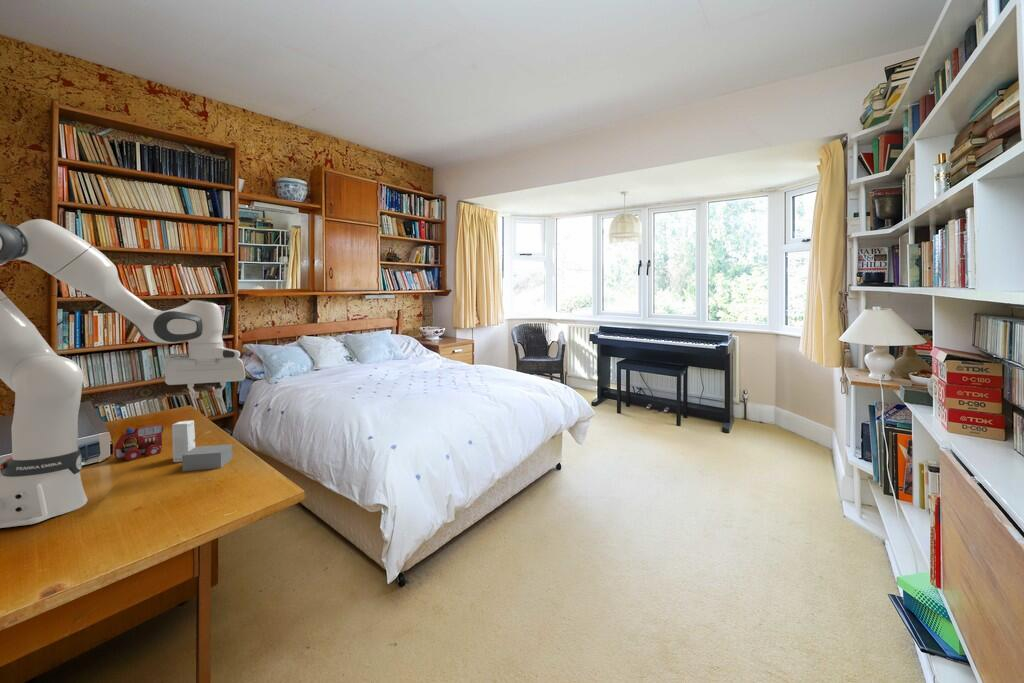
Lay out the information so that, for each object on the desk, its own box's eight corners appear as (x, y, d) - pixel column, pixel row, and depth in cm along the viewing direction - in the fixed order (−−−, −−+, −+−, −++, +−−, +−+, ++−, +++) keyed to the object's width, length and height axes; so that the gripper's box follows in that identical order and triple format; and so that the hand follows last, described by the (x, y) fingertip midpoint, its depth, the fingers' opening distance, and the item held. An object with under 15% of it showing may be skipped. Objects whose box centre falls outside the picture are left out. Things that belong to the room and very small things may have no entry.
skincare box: (188, 461, 135) (188, 423, 135) (171, 462, 133) (171, 424, 133) (196, 456, 141) (195, 419, 140) (180, 457, 139) (179, 420, 139)
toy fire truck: (111, 460, 136) (110, 428, 136) (159, 451, 146) (159, 421, 146) (117, 464, 132) (117, 431, 132) (166, 455, 142) (166, 424, 142)
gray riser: (182, 472, 125) (181, 455, 125) (196, 462, 135) (196, 446, 135) (221, 468, 128) (220, 452, 128) (232, 459, 138) (232, 444, 138)
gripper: (161, 354, 123) (162, 401, 123) (244, 352, 133) (245, 395, 134) (165, 353, 128) (166, 398, 129) (244, 351, 139) (245, 393, 139)
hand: (207, 397), depth 131 cm, fingers open, 5 cm apart
